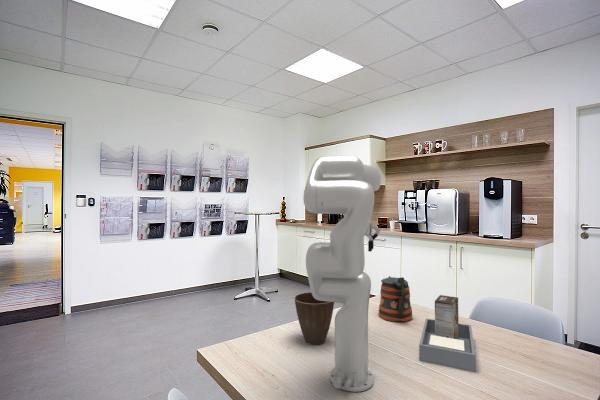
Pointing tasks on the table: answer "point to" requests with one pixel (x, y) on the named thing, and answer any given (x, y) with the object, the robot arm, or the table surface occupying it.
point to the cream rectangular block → (447, 343)
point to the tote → (446, 355)
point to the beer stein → (395, 300)
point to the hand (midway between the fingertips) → (357, 250)
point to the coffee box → (446, 317)
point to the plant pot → (313, 317)
